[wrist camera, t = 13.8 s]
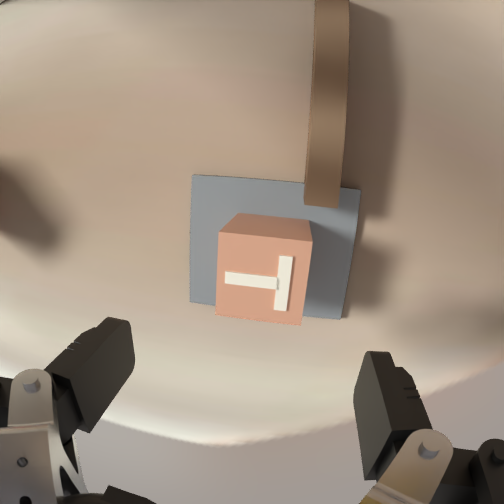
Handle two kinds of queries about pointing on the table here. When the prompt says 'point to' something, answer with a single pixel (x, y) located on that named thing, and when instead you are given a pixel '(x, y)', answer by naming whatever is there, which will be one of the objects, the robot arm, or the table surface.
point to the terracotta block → (263, 268)
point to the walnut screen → (327, 104)
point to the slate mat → (280, 205)
